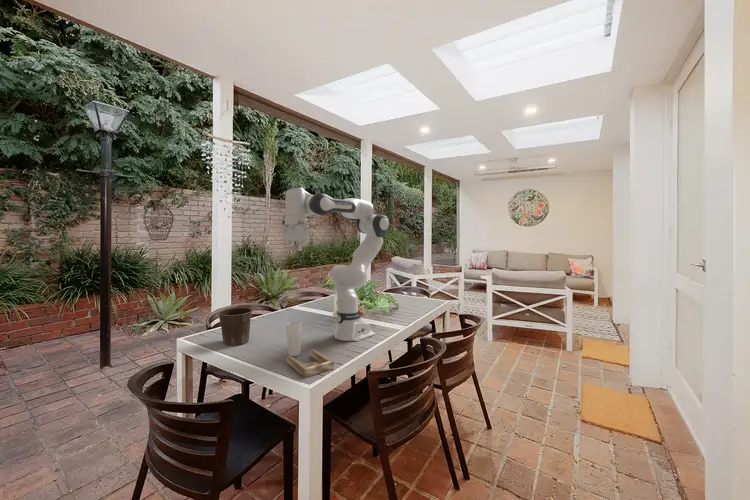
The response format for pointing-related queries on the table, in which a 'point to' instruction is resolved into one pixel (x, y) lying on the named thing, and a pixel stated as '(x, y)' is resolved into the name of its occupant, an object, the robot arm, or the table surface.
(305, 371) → the guide channel
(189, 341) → the table surface
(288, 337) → the white cup
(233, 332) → the plant pot
